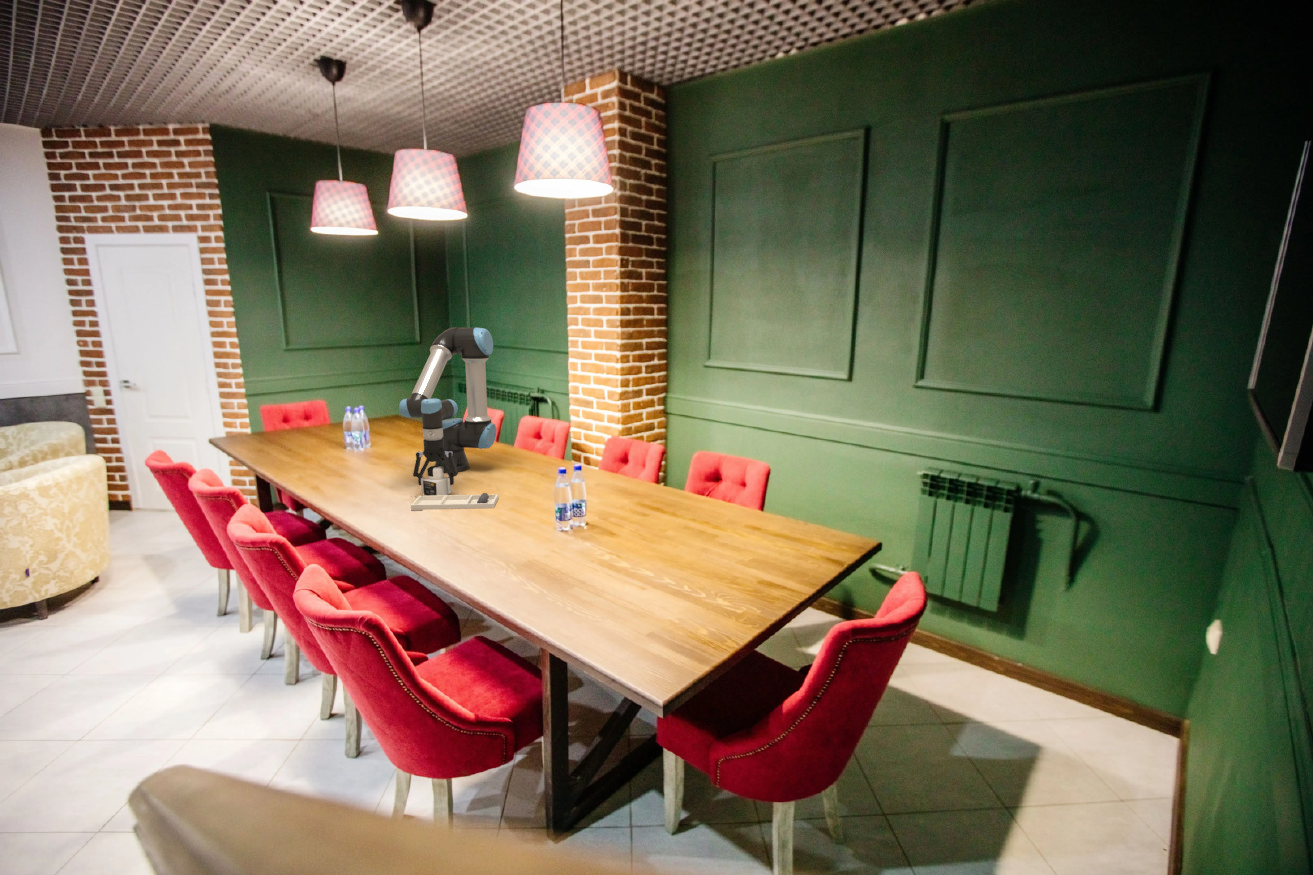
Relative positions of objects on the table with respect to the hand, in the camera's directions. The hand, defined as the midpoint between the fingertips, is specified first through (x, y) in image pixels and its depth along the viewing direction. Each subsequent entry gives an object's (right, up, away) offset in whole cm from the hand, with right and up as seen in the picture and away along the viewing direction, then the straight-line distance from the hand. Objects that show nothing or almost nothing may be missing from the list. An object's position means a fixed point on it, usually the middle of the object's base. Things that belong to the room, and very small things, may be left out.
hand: (437, 492), depth 253 cm
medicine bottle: (0, -1, 0) cm, 1 cm away
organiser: (+11, -4, -11) cm, 16 cm away
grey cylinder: (+21, -3, -10) cm, 23 cm away
